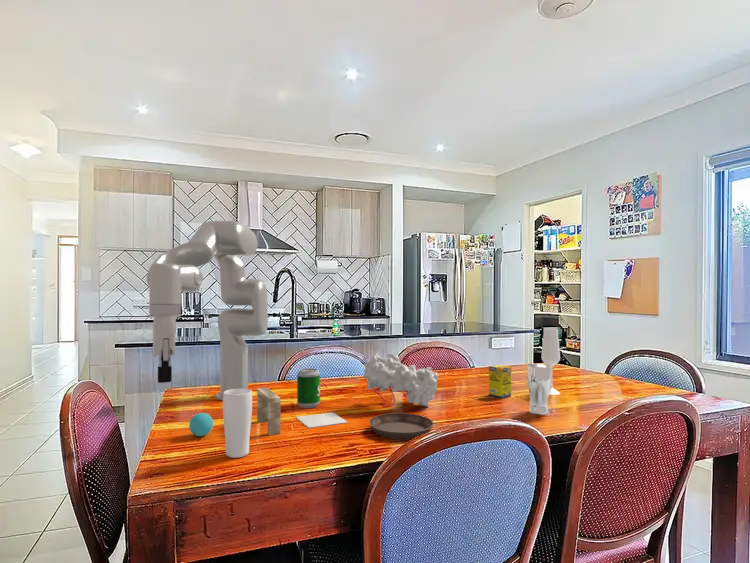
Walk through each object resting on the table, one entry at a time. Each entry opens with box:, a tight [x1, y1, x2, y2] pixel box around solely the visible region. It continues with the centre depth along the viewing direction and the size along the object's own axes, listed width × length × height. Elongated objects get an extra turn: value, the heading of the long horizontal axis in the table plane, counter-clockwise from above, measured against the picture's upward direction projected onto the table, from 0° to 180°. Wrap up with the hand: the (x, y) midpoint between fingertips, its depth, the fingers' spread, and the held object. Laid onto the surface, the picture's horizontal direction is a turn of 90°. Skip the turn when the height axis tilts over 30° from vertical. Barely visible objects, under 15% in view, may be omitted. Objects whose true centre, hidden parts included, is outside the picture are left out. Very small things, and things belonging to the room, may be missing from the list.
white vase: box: [527, 363, 551, 416], centre depth 153 cm, size 7×7×15 cm
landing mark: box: [295, 412, 349, 429], centre depth 144 cm, size 12×12×1 cm
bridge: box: [256, 386, 282, 436], centre depth 137 cm, size 3×15×10 cm, turn 26°
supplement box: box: [488, 364, 512, 399], centre depth 176 cm, size 6×6×11 cm
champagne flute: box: [541, 327, 561, 396], centre depth 181 cm, size 7×7×24 cm
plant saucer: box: [368, 412, 434, 441], centre depth 133 cm, size 18×18×3 cm
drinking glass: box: [222, 389, 253, 459], centre depth 115 cm, size 7×7×15 cm
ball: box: [188, 412, 214, 437], centre depth 129 cm, size 6×6×6 cm
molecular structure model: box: [362, 352, 439, 408], centre depth 161 cm, size 20×18×25 cm
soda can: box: [296, 368, 321, 409], centre depth 161 cm, size 8×8×12 cm
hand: (164, 381), depth 125 cm, fingers closed
